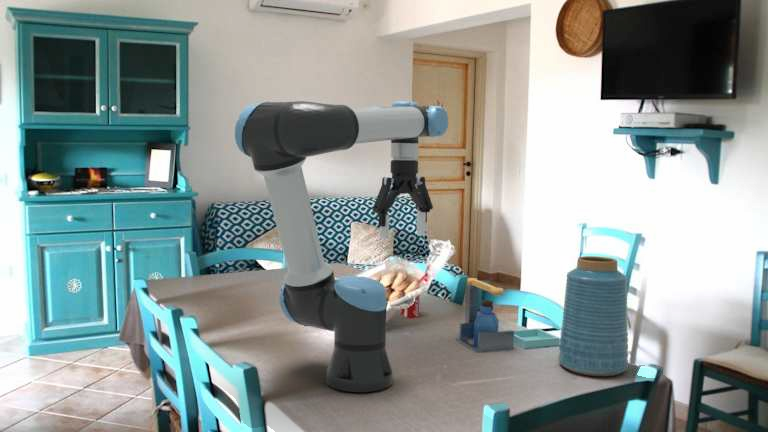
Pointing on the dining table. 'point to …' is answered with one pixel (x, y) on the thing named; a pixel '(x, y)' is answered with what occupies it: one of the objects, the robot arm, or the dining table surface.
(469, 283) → the bar
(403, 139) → the robot arm
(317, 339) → the dining table surface
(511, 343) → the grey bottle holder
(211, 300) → the dining table surface
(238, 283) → the dining table surface
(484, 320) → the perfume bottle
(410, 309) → the beverage can
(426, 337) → the dining table surface
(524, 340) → the tray
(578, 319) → the vase
